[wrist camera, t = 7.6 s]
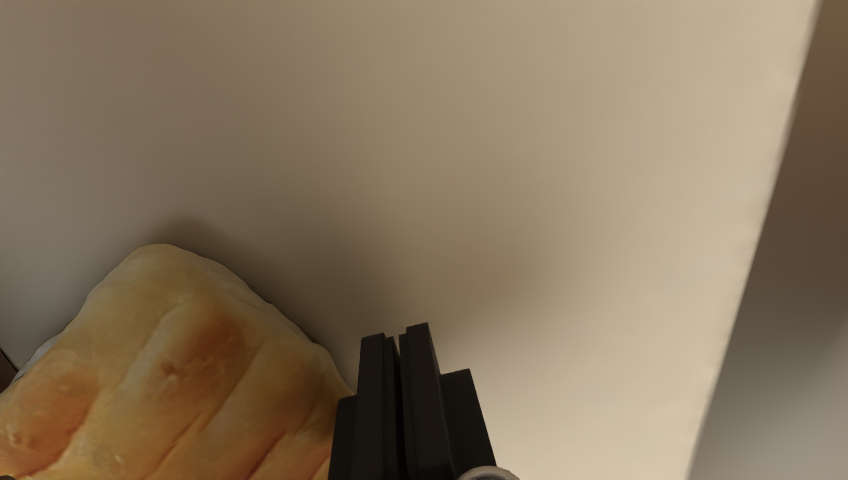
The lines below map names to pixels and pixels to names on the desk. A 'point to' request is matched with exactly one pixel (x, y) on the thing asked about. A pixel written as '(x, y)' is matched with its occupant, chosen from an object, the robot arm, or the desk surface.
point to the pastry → (172, 384)
